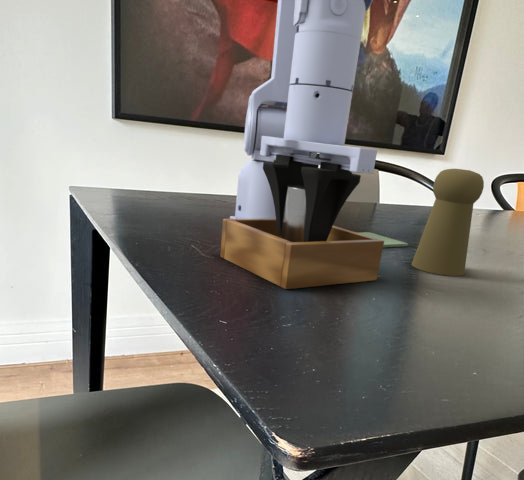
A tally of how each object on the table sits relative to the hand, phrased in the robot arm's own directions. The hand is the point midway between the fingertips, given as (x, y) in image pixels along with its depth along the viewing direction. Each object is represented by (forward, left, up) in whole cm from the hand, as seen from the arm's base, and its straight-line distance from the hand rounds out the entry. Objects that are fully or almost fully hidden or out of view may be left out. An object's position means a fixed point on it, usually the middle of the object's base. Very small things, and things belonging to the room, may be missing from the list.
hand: (300, 240), depth 50 cm
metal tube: (0, 0, -3) cm, 3 cm away
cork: (+4, +18, -3) cm, 19 cm away
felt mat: (-10, +21, -3) cm, 23 cm away
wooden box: (0, 0, -3) cm, 3 cm away
